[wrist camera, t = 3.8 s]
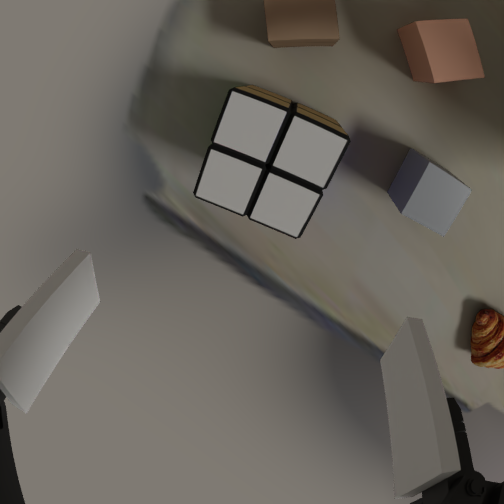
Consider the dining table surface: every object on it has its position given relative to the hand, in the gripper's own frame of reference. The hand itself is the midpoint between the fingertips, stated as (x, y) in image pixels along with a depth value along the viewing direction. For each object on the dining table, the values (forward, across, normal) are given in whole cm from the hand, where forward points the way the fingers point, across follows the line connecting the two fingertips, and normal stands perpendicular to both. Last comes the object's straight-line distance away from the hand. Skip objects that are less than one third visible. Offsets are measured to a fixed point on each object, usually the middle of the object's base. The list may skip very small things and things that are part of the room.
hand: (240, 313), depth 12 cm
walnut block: (+25, 0, +15) cm, 29 cm away
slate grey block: (+25, +16, +1) cm, 30 cm away
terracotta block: (+25, +14, +16) cm, 33 cm away
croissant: (+25, +43, -20) cm, 54 cm away
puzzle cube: (+25, -1, +1) cm, 25 cm away
